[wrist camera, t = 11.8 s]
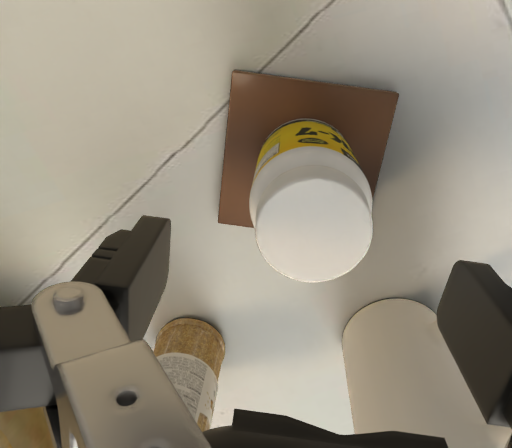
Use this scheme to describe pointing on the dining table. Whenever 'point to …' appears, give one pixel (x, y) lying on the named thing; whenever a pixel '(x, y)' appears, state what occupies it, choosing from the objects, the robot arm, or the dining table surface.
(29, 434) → the decorative ball
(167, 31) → the dining table surface
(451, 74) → the dining table surface
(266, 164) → the supplement bottle
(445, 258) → the dining table surface
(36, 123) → the dining table surface
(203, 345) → the sprinkles bottle
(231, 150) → the coaster
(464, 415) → the mug
